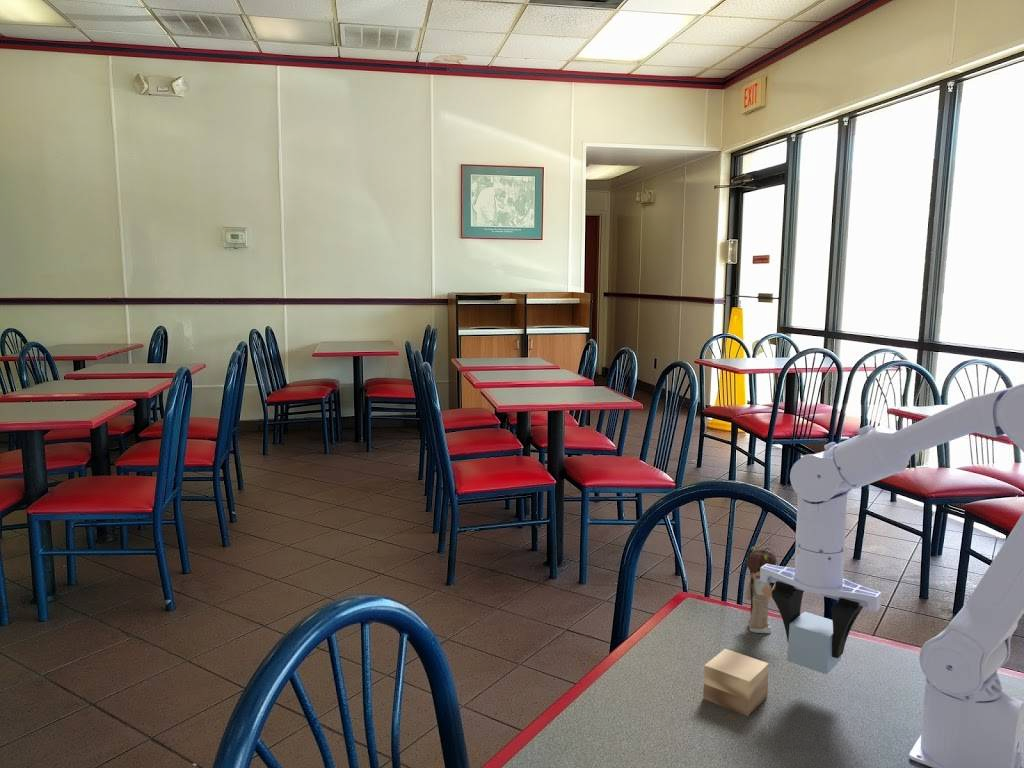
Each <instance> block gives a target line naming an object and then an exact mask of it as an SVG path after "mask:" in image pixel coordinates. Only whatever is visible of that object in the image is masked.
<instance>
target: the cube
mask: <svg viewBox="0 0 1024 768" xmlns="http://www.w3.org/2000/svg"><path fill="white" fill-rule="evenodd" d="M832 641H833V621H832V619H830V618H828V617H827V618H826V617H824V616H820V615H817V614H814V613H810V612H808V611H803V613H800V616H799V617H797V618H796V619H795V620H794V621H793V622H791V623H790V626H789V641H787V657H786V658H787V659H786V661H787V662H790V663H793V664H796V665H798V666H801V667H804V668H807V669H809V670H813V671H815V672H818V673H821V674H824V675H827V676H828V674H829V673H830V672H831V671H832V670H833V668H835V667H836V665H838V664H839V663H840V662H841V660H842V655H841V656H840V657H839V658H834V657H832Z"/></svg>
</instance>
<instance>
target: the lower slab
mask: <svg viewBox="0 0 1024 768" xmlns="http://www.w3.org/2000/svg"><path fill="white" fill-rule="evenodd" d="M768 693H769V681H768V682H767V683H766V684H765V685H764V686H763V687H762V688H761V689H760V690H759V691H758V692H757V693H756V694H755V695H754V696H753V697H752V698H751V699H750V700H749V701H748V700H746V699H743V698H740V697H738V696H735V695H732V694H730V693H727V692H724V691H722V690H719V689H717V688H714V687H711V686H709V685H706V684H704V683H703V695H702V696H703V697H702V699H703V700H706V701H708V702H711V703H713V704H716V705H718V706H721V707H722V708H725V709H727V710H731V711H732V712H735V713H739V714H741V715H743V716H746V717H749V716H750V715H751V714H752V713H753V712H754V711H755V709H757V708H758V707H759V706H760V705H761V704H762V702H764V701H765V700H766V699H767V698H768V696H769V695H768Z"/></svg>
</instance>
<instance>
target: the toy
mask: <svg viewBox="0 0 1024 768" xmlns="http://www.w3.org/2000/svg"><path fill="white" fill-rule="evenodd" d="M768 540H771V542H772V543H773V545H774V546H775V545H776V543H775V542H774V541H773V540H772V539H771V538H768ZM757 542H758V544H761V543H762V542H763V540H762V539H759V540H757ZM764 545H765V546H767V545H768V546H771V547H772V544H771V543H770V542H768V543H764V544H763V548H762V549H759V547H757V546H755V545H752V546H750V544H748V545H747V546H748V547H749V546H750V548H747V554H748V553H749V551H750V550H751V552H750V553H749V555H748V556H747V558H746V566H747V569H748V570H749V575H750V576H749V580H750V581H749V582H747V585H746V589H745V592H744V593H745V594H744V595H745V597H744V598H745V599H746V600H747V601H750V609H749V610H750V611H749V612H750V613H749V614H750V617H749V619H748V621H747V623H748V626H749V627H748V628H749V631H750V632H752V633H757V634H758V633H761V634H771V633H772V626H771V623H770V621H769V620H768V619H769V618H768V614H769V612H768V611H769V602H770V601H771V599H772V590H774V589H775V586H773V587H771V586H772V585H770V583H771V582H768V583H765V582H761V581H760V568H761V567H762V566H764V565H765V564H770V565H775V566H780V565H779V561H778V560H777V557H776V554H775V552H777V550H776V549H775V548H773V550H774V551H775V552H774V551H773V550H771V552H769V551H770V548H768V547H764ZM753 549H755V550H753Z"/></svg>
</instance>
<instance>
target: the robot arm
mask: <svg viewBox="0 0 1024 768" xmlns="http://www.w3.org/2000/svg"><path fill="white" fill-rule="evenodd" d="M857 433H858V434H857V435H855V436H853V437H850V438H848V439H846V440H844V441H841V442H839V443H837V442H835V441H833V442H829V443H827V444H824V451H820V452H816V453H813V454H811V453H810V454H804V455H803V456H802V457H801V458H800V459H798V460H797V461H796V462H794V463H793V465H792V467H791V469H790V472H789V473H790V474H789V481H790V484H791V488H792V489H793V490H794V492H795V493H796V495H797V508H796V525H795V527H796V528H795V529H796V530H795V553H794V554H795V555H794V567H788V566H780V565H779V566H778V565H776V566H775V565H770V564H765V565H764V566H762V567H761V568H760V581H761V582H765V583H768V582H770V583H773V584H775V585H774V587H775V589H774V590H772V596H771V599H772V600H773V602H774V603H775V605H776V606H777V609H778V611H779V613H780V614H779V615H780V617H781V620H782V623H783V627H784V631H785V635H786V642H788V641H789V626H790V623H791V622H793V621H794V620H795V619H796V618H797V617H799V616H800V615H801V608H802V603H803V602H802V600H803V597H804V592H807V593H811V594H814V595H815V594H816V595H817V596H823V597H825V598H830V599H833V600H836V601H837V600H838V602H837V603H835V604H834V605H833V606H832V607H830V612H831V618H832V619H831V620H832V621H833V641H832V657H834V658H839V657H840V656H841V657H842V655H844V651H845V646H846V642H847V639H848V637H849V634H850V632H851V630H852V627H853V625H854V623H855V621H856V620H857V618H858V616H859V614H860V613H861V612H862V610H863V608H866V610H867V611H870V612H874V613H876V612H878V611H879V610H880V608H881V604H882V591H880V590H879V591H878V590H875V589H872V588H869V587H865V586H863V585H861V584H858V583H855V582H852V581H851V580H848V579H846V578H844V569H845V568H844V567H845V565H844V563H845V543H846V527H847V526H846V524H847V522H846V521H847V505H848V504H847V502H848V501H847V500H848V499H847V498H848V494H849V493H850V492H852V490H856V489H859V488H861V487H865V486H867V485H869V484H872V483H876V482H878V481H881V480H883V479H886V478H888V477H891V476H894V475H896V474H899V473H902V472H904V471H905V470H906V469H907V468H908V465H909V462H910V459H911V457H912V456H913V455H914V454H917V453H920V452H924V451H926V450H928V449H931V448H934V447H938V446H940V445H942V444H946V443H949V442H950V441H951V442H952V441H953V440H956V439H960V438H962V437H965V436H969V435H971V434H979V435H983V436H986V437H990V438H991V437H992V438H998V437H1002V436H1003V435H1006V436H1007V438H1008V439H1009V440H1010V441H1011V442H1012V443H1014V445H1016V446H1017V448H1018V449H1020V450H1021V451H1022V452H1023V453H1024V383H1020V384H1017V385H1015V386H1012V387H1008V388H1004V389H1000V390H996V391H992V392H988V393H984V394H981V395H977V396H973V397H970V398H967V399H964V400H963V401H960V402H958V403H956V404H955V405H952V406H949V407H947V408H945V409H943V410H941V411H939V412H937V413H934V414H932V415H929V416H927V417H926V418H924V419H922V420H919V421H917V422H914V423H912V424H910V425H908V426H906V427H903V428H901V429H899V430H897V429H894V428H891V427H888V426H884V425H879V426H876V427H874V426H873V425H872V424H868V425H866V426H865V425H864V426H862V427H861V428H858V429H857ZM1023 614H1024V511H1023V512H1022V514H1021V515H1020V517H1019V519H1018V520H1017V522H1016V524H1015V525H1014V527H1013V528H1012V530H1011V531H1010V533H1009V535H1008V536H1007V538H1006V539H1005V541H1004V542H1003V544H1002V546H1001V547H1000V549H999V550H998V552H997V553H996V555H995V556H994V559H993V560H992V562H991V563H990V565H989V566H988V568H987V570H986V571H985V573H984V574H983V576H982V578H981V579H980V580H979V582H978V584H977V585H976V587H975V588H974V590H973V592H972V593H971V595H970V596H969V598H968V600H967V601H966V602H965V604H964V605H962V608H961V609H960V610H959V611H958V612H957V614H956V615H955V616H954V617H953V618H952V620H950V622H949V623H948V625H947V627H946V628H945V629H944V630H942V631H941V632H940V633H939V634H937V635H936V636H934V637H932V638H930V639H928V640H926V641H925V643H924V644H923V645H922V647H921V648H920V652H919V657H918V659H919V665H920V668H921V670H922V673H923V674H924V676H925V683H924V684H925V685H924V693H923V695H924V696H923V709H922V722H921V731H920V733H921V734H920V735H919V737H918V738H917V740H916V742H915V743H914V745H913V746H912V748H911V750H910V752H909V753H908V757H909V759H910V760H912V761H915V762H917V763H919V764H922V765H925V766H928V767H929V768H930V767H931V768H1021V766H1022V758H1023V754H1022V752H1021V751H1022V742H1023V741H1022V740H1023V732H1024V702H1023V701H1022V700H1019V699H1017V698H1015V697H1013V696H1011V695H1009V694H1008V693H1006V692H1004V691H1003V687H1002V685H1001V681H1000V677H999V675H998V670H999V669H1000V668H1001V667H1003V666H1005V664H1007V662H1008V661H1009V659H1010V656H1011V640H1012V636H1013V634H1014V632H1016V630H1017V628H1018V623H1019V621H1020V619H1021V618H1022V617H1023Z"/></svg>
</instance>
